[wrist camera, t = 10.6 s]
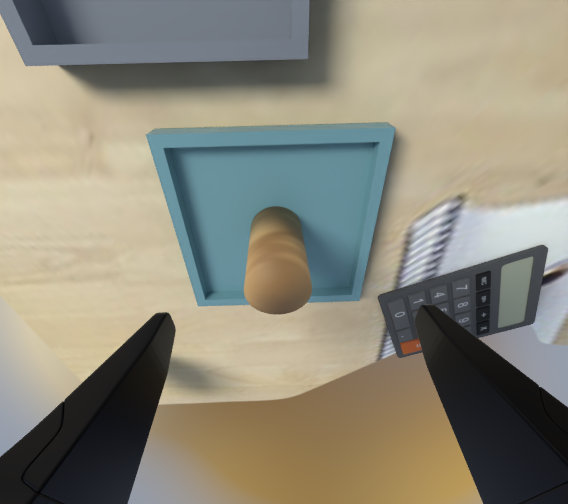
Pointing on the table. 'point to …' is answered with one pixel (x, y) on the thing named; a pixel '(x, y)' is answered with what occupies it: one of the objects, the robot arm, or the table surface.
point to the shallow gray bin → (156, 30)
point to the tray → (273, 199)
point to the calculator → (470, 298)
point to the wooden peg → (277, 263)
